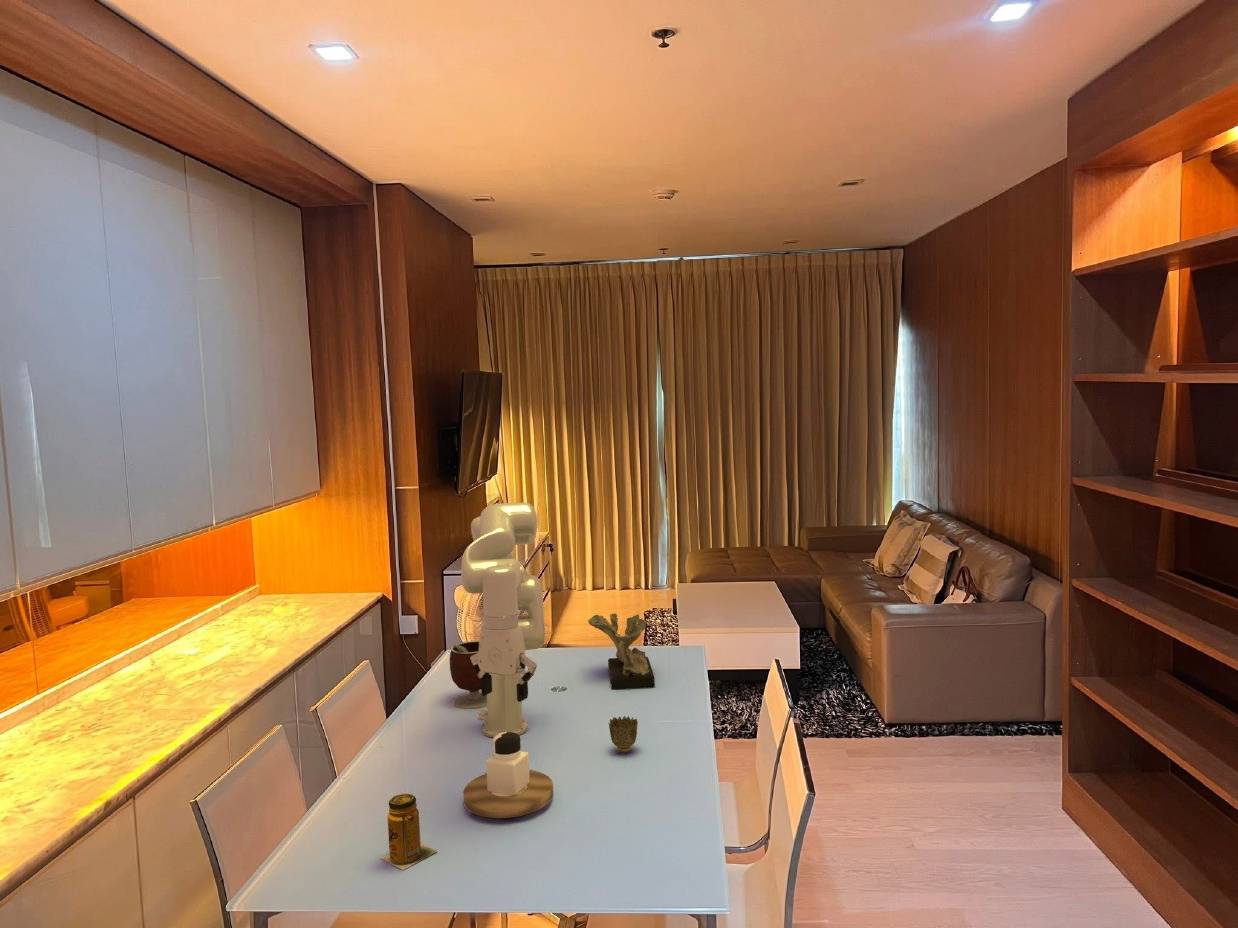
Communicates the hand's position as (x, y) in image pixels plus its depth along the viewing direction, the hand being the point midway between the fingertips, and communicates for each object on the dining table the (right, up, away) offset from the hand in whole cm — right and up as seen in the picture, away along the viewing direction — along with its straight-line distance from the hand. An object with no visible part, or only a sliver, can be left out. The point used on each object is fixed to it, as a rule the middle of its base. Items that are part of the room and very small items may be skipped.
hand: (504, 696), depth 187 cm
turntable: (+1, -23, +1) cm, 23 cm away
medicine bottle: (+1, -21, +1) cm, 21 cm away
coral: (+26, -18, +84) cm, 90 cm away
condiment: (-16, -26, -20) cm, 37 cm away
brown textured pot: (+27, -22, +27) cm, 44 cm away
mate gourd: (-19, -21, +67) cm, 73 cm away
